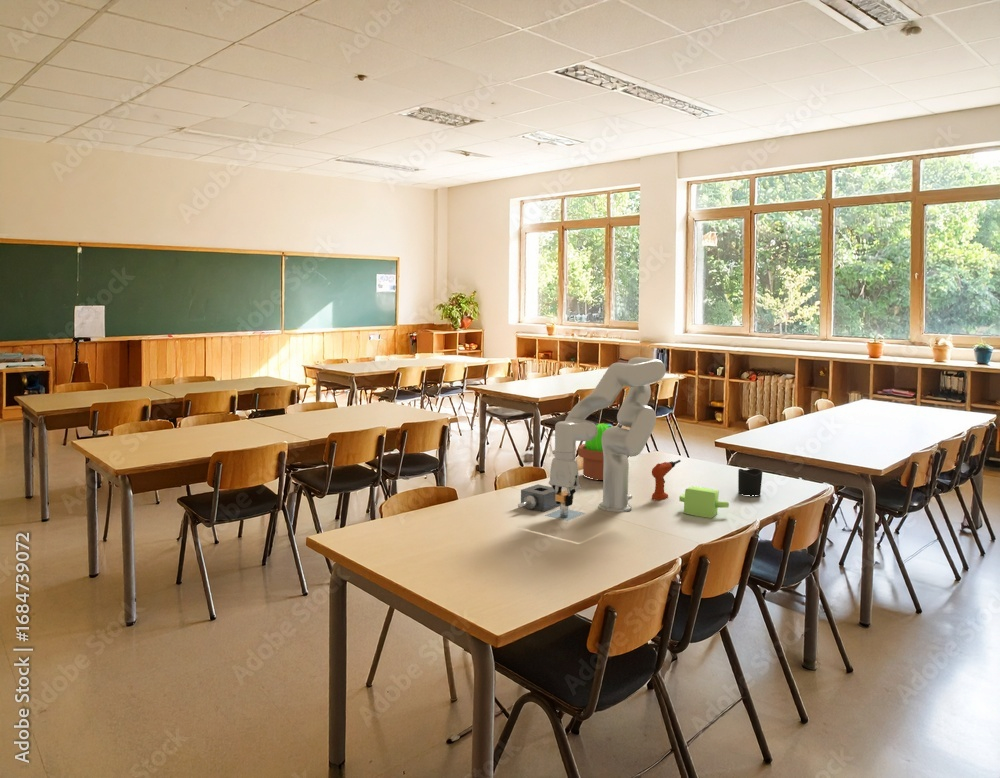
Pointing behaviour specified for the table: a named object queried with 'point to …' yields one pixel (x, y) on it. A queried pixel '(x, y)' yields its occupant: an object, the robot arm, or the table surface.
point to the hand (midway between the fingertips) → (564, 503)
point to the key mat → (571, 514)
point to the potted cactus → (594, 454)
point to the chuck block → (538, 498)
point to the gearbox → (702, 502)
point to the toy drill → (661, 478)
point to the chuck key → (562, 504)
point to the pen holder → (749, 481)
